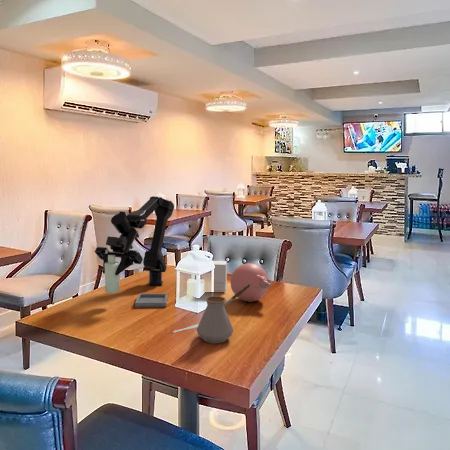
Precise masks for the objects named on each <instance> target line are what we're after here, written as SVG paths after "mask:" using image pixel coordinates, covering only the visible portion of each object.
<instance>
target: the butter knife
mask: <svg viewBox="0 0 450 450" xmlns="http://www.w3.org/2000/svg"><path fill="white" fill-rule="evenodd" d="M198 325H199V323H197V324H192V325H190V326H189V325H188V326H187V327H185V328H181V329H176V330H173V331H172V333H174V334H175V333H179V332H182V331H187V330H192V329H197V327H198Z"/></svg>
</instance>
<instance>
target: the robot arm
mask: <svg viewBox="0 0 450 450" xmlns="http://www.w3.org/2000/svg"><path fill="white" fill-rule="evenodd" d="M174 210H175V204H174V203H173V201H172V200H168V199H165V198H163V197H161V196H150V197H149V199H148V200H147V201H146V202H145V203H144V204H143V205H142V206H141V207H139V208H138V210H134V211H131V212H129V213H128V214H126V212H125V211H119V212H118V213H116V214H114V215H113V216H112V217H111V219H110V223H111V224H112V226H113V227H114V229H115V230H116V231H117V232H118V233H119V234H120V235H119V237H116V236H110V235H109V236H107V238H106V242H105V245H106V246H110V247H109V249H110V250H111V251H110V250H109V249H108V248H107V247H105V246H104V247H103V246H97V247H96V248H95V250H94V253H95V255H96V256H97V257H98V258H99V259H100V260H102V261H103V263H102V274H104V275H105V263H106V262H108V255H115V258H119V259H120V262H119V266H118V268H117V270H116V273H115V275H118V274H119V275H120V274H121V273H122V272H123V271H125V270H126V269H128V268H130V266H134V265H141V264H143V267H144V268H143V269H144V272H148V282H147V286H148V287H149V286H161V287H163V283H164V280H162V279H163V278H162V277H163V273H166V271H167V264H166V263H165V261H164V255H163V252H162V247H163V243H164V239H165V234H166V228H167V225H168V224H167V223H168V220H169V219H170V218H171V217H172V216H173V212H174ZM152 213H154V214H155V216H156V219H155V224H154V230H153V234H152V240H151V244H150V248H149V249H148V250H146V251H145V252H144V255H143V256H144V257H143V256H142V255H141V254H140V252H139V250H133V249H134V246H133V243H134V241H135V239H139V237H140V234H139V232H138V231H139V229H140V230H141V229H143V228H144V226H146V224H147V222H148V221H147V219H148V218H149V217H150V215H151V214H152ZM136 229H138V230H136Z"/></svg>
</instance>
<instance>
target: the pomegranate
mask: <svg viewBox="0 0 450 450" xmlns="http://www.w3.org/2000/svg"><path fill="white" fill-rule="evenodd" d="M271 281H272V280H271V279H270V278H269V277H268V274H267V273H266V271H265V269H264V268H262V267H261V266H260V265H258V264H255V263H251V262H247V263H243V264H241V265H239V266H238V267H236V268H235V269H234V271H233V272H232V274H231V276H230V288H231V291H232V292H233V294H234V295H235V294H236V293H237V292H238V291H240V290H242V289H243V288H244V287H246V286H247V285H249V284H250V285H251V286H252V287H253V289H252V287H251V286H250V287H249V288H250V289H252V290H250V289H249V288H247V290H245V291H244V292H243V293H242V294H241V295H239V296H238V297H237V298H238V299H240V300H241V301H244V302H247V301H248V302H249V303H250V302H251V303H252V302H256V301H258V300H260V299H261V298H263V297H264V296H265V295H266V293H267V291H268V289H269V288H270V287H272V285H273V283H272V282H271Z"/></svg>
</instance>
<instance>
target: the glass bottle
mask: <svg viewBox="0 0 450 450" xmlns="http://www.w3.org/2000/svg"><path fill="white" fill-rule="evenodd" d="M119 264H120V262H118V261H116V257H115V255H108V262H106V263H105V274H104V291H105V293H107V294H117V293H119V292H120V274H118V275H115V273H116V270H117V268H118V266H119Z"/></svg>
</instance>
